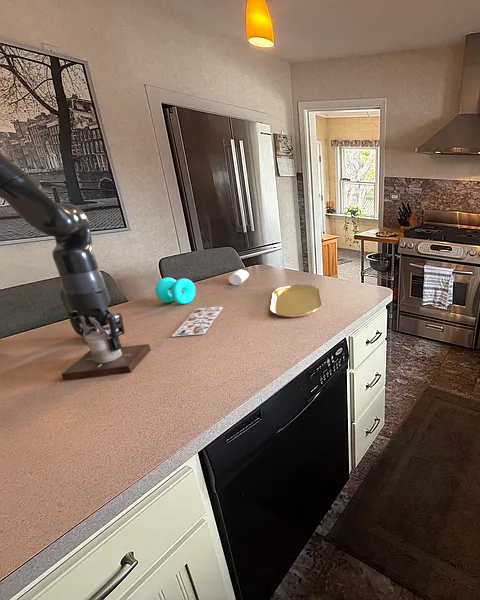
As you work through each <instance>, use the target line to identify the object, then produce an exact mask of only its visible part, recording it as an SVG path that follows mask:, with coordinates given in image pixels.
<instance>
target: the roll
mask: <svg viewBox="0 0 480 600" xmlns="http://www.w3.org/2000/svg"><path fill="white" fill-rule="evenodd" d="M249 276H250V273H249V272H248V271H247V270H244V269H237V270H236V271H234V272H233V273H231V274H230V275H229V276H228V282H229V283H230V284H231V285H233V286H239V285H241V284H242V283H244V282H245V281H246V280H247V279H248V278H249Z"/></svg>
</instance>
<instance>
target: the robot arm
mask: <svg viewBox="0 0 480 600" xmlns="http://www.w3.org/2000/svg"><path fill="white" fill-rule="evenodd" d="M0 199H2V200H4V201H5V202H6V203H7V204H8V205H9V206H10V207H11V208H12V209H13V210H14V211H15V212H16V213H17V214H18V215H19V216H20V217H21V218H22V219H23V220H24V221H25V222H26V223H27V224H28V225H30V226H31V227H32V228H33V229H35V230H37V231H38V232H40V233H42V234H44V235H46V236H50V237H54V239H55V240H54V241H55V247H54V248H53V249H52V252H51V254H52V260H53V262H54V265H55V267H56V270H57V272H58V276H59V282H60V285H61V288H62V289H63V290H64V293H65V295H66V298H67V300H68V303H69V306H70V308H71V309H72V310H74V311H72V312H69V313H68V314H67V316H68V315H69V316H68V318H69V317H70V319H71V321H72V323H73V325H74V326H75V328H76V330H77V332H78V333H79V334H81V333H83V334H84V336H87V335H88V334H90V333H92V332H95V331H97V329H98V330H99V331H100V332H103V333H104V335H105V336H106V337H107V341H108V344H109V347H110V350H111V351H113V352H115V351H118V350H120V349H121V347H122V343H121V341H120V340H121V339H120V338H119V337H121V336H122V335H124V334H125V333H126V332H125V326H124V321H123V315H122V313H120V312H117V313H112V311H111V310H110V309H109V305H110V304H111V297H110V294H109V291H108V288H107V285H106V282H105V279H104V276H103V274H102V272H101V270H100V268H99V266H98V262H97V259H96V257H95V254H94V250H93V239H92V232H91V226H90V221H89V219H88V216H87V215H86V214H85V212H84V210H82V209H81V208H80V207H78V206H77V205H75V204H72V203H69V202H57V203H56V202H55V201H54V200H52V199H51V198H50V197H49V196H48V195H47V194H46V193H45V192H43V186H42V184H41V183H40V182H39V181H38V180H37V179H36V178H34V177H33V176H32V175H30V174H29V173H28V172H26V171H25V170H24V169H23V168H21V167H20V166H19V165H18V164H16V163H15V162H14V161H12V160H11V159H9V158H8V157H7V156H6V155H4V154H3V153H2V152H0ZM70 319H69V320H70ZM81 323H82V324H81ZM80 324H81V327H80ZM105 326H106V327H105ZM108 329H110V331H111V334H110V333H109V332H108ZM79 334H78V335H79Z"/></svg>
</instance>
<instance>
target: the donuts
mask: <svg viewBox="0 0 480 600" xmlns="http://www.w3.org/2000/svg"><path fill="white" fill-rule="evenodd" d="M169 289H170V291H169ZM154 292H155V296H156V298H157V299H158V300H159V301H160V302H161V303H166V304H170V303H173V302H176V303H178V304H180V305H186V304H189V303H190V302H192V301H193V299H194V298H195V296H196V287H195V284H194V282H193V281H192V280H191V279H188V278H185V277H184V278H178V279H177V280H176V279H174V278H172V277H167V276H166V277H163V278H161V279H159V280H158V282H157V283H156V285H155V289H154Z"/></svg>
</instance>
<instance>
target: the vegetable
mask: <svg viewBox="0 0 480 600" xmlns="http://www.w3.org/2000/svg"><path fill="white" fill-rule="evenodd" d="M59 296H60V299H61V302H62V305H63V307H64V309H65V311H66V314H67V317H68V319H69V322H70V325H71V327H72V328H73V330H74V332H75V334H77V335H78V336H80V337H82V338H84V336H83V333H81V334H79V333H78V332H77V330H76V328H75V326H74V325H73V323H72V321H71V319H70V317H69V315H68V313H69V312H72V311H74V310H72V309H71V308H70V306H69V303H68V300H67V298H66V295H65V293H64V290H63V288H62V289H61V290H60V295H59Z"/></svg>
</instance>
